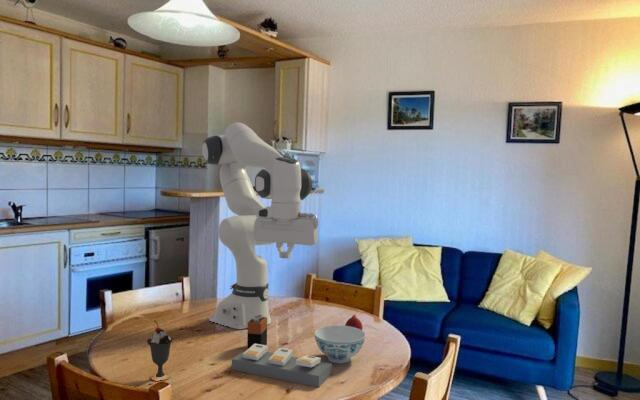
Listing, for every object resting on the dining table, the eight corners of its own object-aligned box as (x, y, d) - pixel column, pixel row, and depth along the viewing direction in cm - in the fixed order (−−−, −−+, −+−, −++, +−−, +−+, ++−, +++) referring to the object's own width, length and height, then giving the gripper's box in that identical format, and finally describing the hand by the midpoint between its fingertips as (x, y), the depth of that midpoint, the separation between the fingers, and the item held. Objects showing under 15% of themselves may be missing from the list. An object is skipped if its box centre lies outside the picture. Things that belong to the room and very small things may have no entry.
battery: (246, 351, 149) (247, 319, 148) (254, 344, 155) (254, 312, 155) (260, 352, 148) (261, 320, 147) (267, 345, 155) (267, 314, 154)
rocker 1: (243, 359, 135) (242, 353, 135) (255, 348, 141) (254, 342, 140) (257, 362, 133) (256, 355, 133) (268, 351, 139) (268, 345, 139)
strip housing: (231, 369, 135) (231, 359, 135) (248, 358, 143) (248, 348, 143) (318, 387, 125) (319, 375, 125) (331, 374, 133) (331, 363, 133)
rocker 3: (295, 366, 129) (296, 359, 129) (305, 361, 134) (306, 354, 135) (311, 369, 127) (311, 362, 127) (320, 364, 133) (320, 357, 133)
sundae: (150, 372, 132) (150, 317, 131) (175, 372, 132) (176, 317, 131) (143, 383, 125) (143, 325, 124) (170, 382, 126) (170, 325, 125)
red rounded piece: (361, 342, 159) (361, 317, 159) (343, 340, 161) (344, 316, 160) (363, 336, 165) (363, 312, 165) (346, 334, 166) (346, 311, 166)
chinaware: (329, 346, 155) (330, 322, 154) (373, 356, 147) (373, 331, 147) (304, 361, 142) (304, 335, 141) (350, 373, 134) (351, 345, 134)
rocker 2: (269, 364, 132) (268, 358, 131) (279, 352, 138) (279, 346, 137) (283, 367, 130) (283, 361, 130) (294, 355, 136) (293, 349, 136)
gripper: (322, 213, 145) (321, 259, 146) (261, 209, 153) (260, 253, 153) (313, 214, 139) (312, 262, 140) (251, 210, 147) (250, 256, 148)
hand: (284, 257), depth 147 cm, fingers closed
